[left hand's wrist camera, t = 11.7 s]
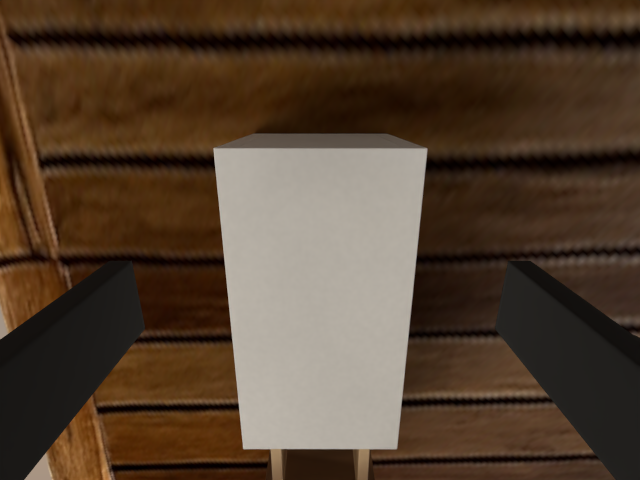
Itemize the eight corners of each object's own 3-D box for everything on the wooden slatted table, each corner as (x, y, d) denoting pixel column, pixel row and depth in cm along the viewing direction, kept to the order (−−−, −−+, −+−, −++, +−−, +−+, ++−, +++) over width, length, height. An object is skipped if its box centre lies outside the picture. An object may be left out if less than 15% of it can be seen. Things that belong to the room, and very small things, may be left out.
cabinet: (374, 348, 35) (397, 449, 24) (265, 348, 35) (243, 449, 24) (388, 133, 28) (427, 148, 17) (252, 133, 28) (213, 147, 17)
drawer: (362, 470, 39) (374, 568, 30) (277, 470, 39) (265, 568, 30) (375, 262, 30) (395, 320, 22) (265, 262, 30) (244, 319, 22)
